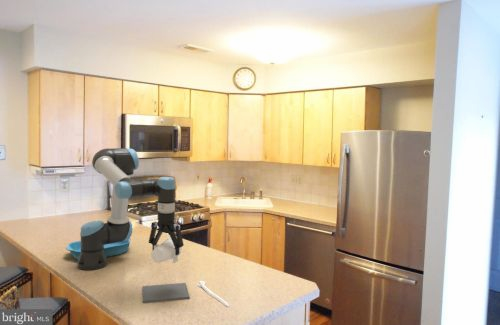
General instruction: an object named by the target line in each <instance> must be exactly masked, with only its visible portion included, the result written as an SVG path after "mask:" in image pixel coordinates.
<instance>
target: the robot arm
mask: <svg viewBox="0 0 500 325" xmlns="http://www.w3.org/2000/svg"><path fill="white" fill-rule="evenodd" d="M91 165H92V167H93V169H94V171H95V172H96V173H98V174H101V175H103V177H105V179H107V180H108V181H109V182H110V183H111V184H112V192H111V205H110V216H108V217H107V221H106V222H104V221H103V220H93V221H88V222H86V223H84V224H83V225H81V227H80V234H79V235H80V236H79V237H80V241H81V253H80V256H79V259H78V260H77V265H76V266H77V269H79V270H84V271H94V270H99V269H102V268H105V267H106V266H107V265H108V257H106V255H105V252H104V245H105V244H111V243H117V242H123V241H127V240H128V239H131V237H132V235H133V223H132V221H131V220H130V218H129V217H128V216H127V215H128V205H129V199H133V198H134V199H135V198H142V197H143V198H145V197H146V198H147V197H152V196H154V197H157V211H158V212H157V221H154V222H151V228H150V229H151V230H150V234H149V239H148V244H151V245H152V247H151V248H152V249H151V250H152V251H153V250H154V249H155V248H156V247H158V246H159V245H160V243H159V240H160V238H161V236H162V234H163V233H166V234H168V235H169V238H171V239H172V242H173V244H174V246H175V248H173V259H172V260H173V262H172V264H176V263H177V262H178V261H179V259H178V257H179V256H180V255H179V249H180V247H183V246H185V244H184V241H183V239H184V238H183V237H182V236H183V235H182V230H181V228H182V227H181V226H182V225H181V224H176V223H175V219H176V215H175V214H176V212H175V210H176V179H175V178H174V177H172V176H171V177H170V176H161V177H159V178H158V179H157V178H148V179H141V180H133V179H132V178H131V177H132V176H133V175H134V173H135V172H134V171H135V170H136V171H137V169H138V168H139V165H140V161H139V156H138V154H137V152H136V150H135V149H133V148H128V147H127V148H126V147H121V148H119V147H117V148H102V149H100V150H99V151H96V153H95V154H94V156H93V157H92V160H91ZM157 229H158V230H157ZM158 243H159V244H158ZM152 251H151V252H152ZM178 255H179V256H178Z"/></svg>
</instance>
